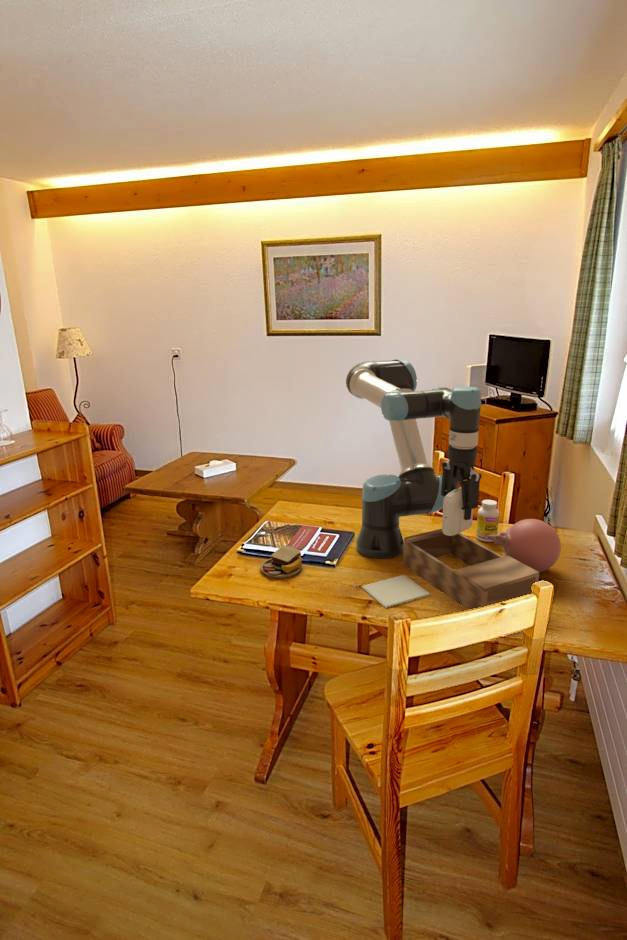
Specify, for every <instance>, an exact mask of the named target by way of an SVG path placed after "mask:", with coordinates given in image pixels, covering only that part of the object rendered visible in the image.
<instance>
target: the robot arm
mask: <svg viewBox="0 0 627 940" xmlns="http://www.w3.org/2000/svg"><path fill="white" fill-rule="evenodd" d="M417 380H418V377H417V374H416V370H415V368H414V365H412V363H410V361H408V360H405V359H392V360H372V361H370V360H368V361H362V362H359V363H358V364H356V365H354V366H353V367H352V368H351V369H350V370H349V372H348V373H347V375H346V379H345V384H346V385H345V386H346V388H347V390H348V392H349V393H350V394H351V395H352V396H354V397H355V398H357V399H360V400H361V399H362V400H366V401H368V402H370V403H371V404H374V405H375V406H377V407H379V408H380V411H381V414H382V415H383V418H384V419H385V420H386V421H389V425H390V429H391V434H392V439H393V442H394V446H395V449H396V450H395V451H396V453H397V458H398V464H399V467H400V473H399V474H398V476H397V475H394V474H388V475H387V474H378V475H376V476H372V477H370V478H368V479H366V481H364V482H363V484H362V492H361V502H362V503H361V506H362V507H361V510H362V511H361V527H360V530H359V534H358V536H357V539H356V547H355V548H356V550H357V552H358V553H359V554H361V555H363V556H364V557H365V556H366V557H368V558H371V559H391V558H396V557H398V556H401V554H404V537H403V535H402V531H401V529H400V518H402V517H408V516H409V517H411V516H417V515H418V516H419V515H425V514H426V515H429V514H432V513H437V512H439V511H440V510H443V500H444V498H445V496H446V495H447V494H448V493H450V492H451V491H453V490H454V489H457V488H459V487H458V486H459V485H460V487H461V491H462V500H463V507H461V513H460V527H459V530H460V531H462V532H464V531H466V530H470V528H469V521H470V519H471V511H472V509H473V510H474V509H477V508H479V497H480V481H481V479H482V478H483V477H482V476H483V475H482V473H480V472H479V473H477V472H476V471H475V467H474V463H475V462H476V460H477V456H478V454H477V453H478V447H477V446H478V444H479V443H478V442H479V432H480V431H479V428H480V417H481V409H482V408H481V407H482V391H481V389H480V388H478V387H474V386H470V385H469V386H467V385H466V386H465V385H463V386H461V385H460V386H456V387H454V388H452V389H451V388H448V387H445V386H443V387H442V386H438V387H434V388H432V389H431V390H430V389H429V390H416V389H417V386H418V385H417V384H418V382H417ZM441 417H442V418H447V419H449V432H448V444H449V445H448V447H447V459H448V460H447V461H442V462H441V467H442V475H439V474H436V473H435V469H434V467H433V466H431V465H429V464H428V461H427V456H426V454H425V450H424V445H423V442H422V438H421V434H420V431H419V426H418V422H417V419H430V418H431V419H432V418H441ZM463 530H464V531H463Z"/></svg>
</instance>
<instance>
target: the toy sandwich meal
mask: <svg viewBox="0 0 627 940" xmlns="http://www.w3.org/2000/svg"><path fill="white" fill-rule="evenodd" d="M301 555H302V553H301V550H300V549H298V548H296V547H293V546H291V545H290V546H289V545H281V546H280V547H279V548H278V549H277V550H276V551H274V552H273V553H272V554H270V558H268V559H266V560H264V561H263V562H261V564H260V567H259V569H260V571H261V572H262V573H263V574H264V575H266V576H268V577H269V578H270V577H271V578H277V579H283V578H289V577H292V576H295V575H297V574H298V573H299V572H300V571H301V570H302V568H303V563H302V561H303V557H302V556H301Z"/></svg>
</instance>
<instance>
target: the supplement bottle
mask: <svg viewBox="0 0 627 940" xmlns="http://www.w3.org/2000/svg"><path fill="white" fill-rule="evenodd" d="M497 506H498V502H497V501H496V500H492V499H483V500H482V501H481V507H480V508H479V509H478V511H477V520H476V521H477V522H476V533H475V536H476V539H477V540H479V541H482V542H486V543H492V542H493V540H491V539H488V536H489V535H497V534H498V532H499V531H498V530H499V521H500V520H499V519H500V511H499V510H498V509H497ZM493 543H494V542H493Z"/></svg>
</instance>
